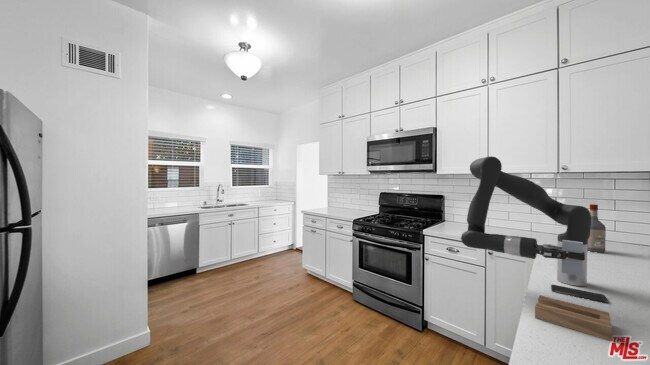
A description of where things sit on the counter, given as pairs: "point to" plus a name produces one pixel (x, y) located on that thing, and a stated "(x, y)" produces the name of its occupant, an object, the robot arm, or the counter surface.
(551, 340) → the counter surface
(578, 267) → the domino
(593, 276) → the counter surface
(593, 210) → the liquor
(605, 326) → the rack
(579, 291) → the phone
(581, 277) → the robot arm
